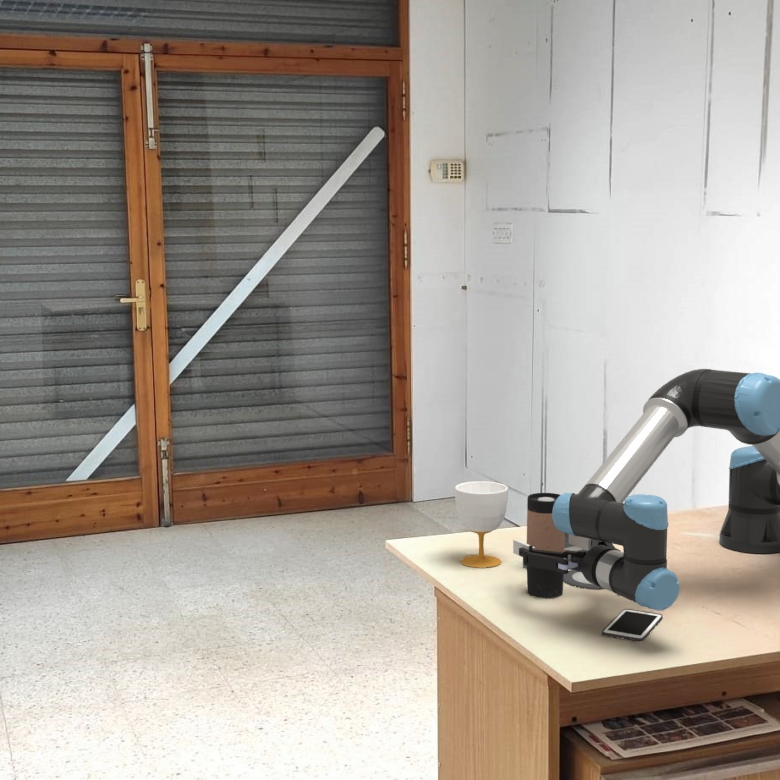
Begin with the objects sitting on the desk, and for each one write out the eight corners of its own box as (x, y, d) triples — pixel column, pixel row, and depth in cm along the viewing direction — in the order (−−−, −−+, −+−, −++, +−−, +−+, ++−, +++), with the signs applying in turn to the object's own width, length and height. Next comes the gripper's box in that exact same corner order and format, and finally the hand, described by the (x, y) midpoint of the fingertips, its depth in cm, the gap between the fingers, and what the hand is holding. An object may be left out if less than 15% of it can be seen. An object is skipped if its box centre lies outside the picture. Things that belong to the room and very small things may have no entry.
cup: (516, 566, 247) (517, 490, 244) (467, 572, 243) (467, 495, 240) (493, 552, 258) (494, 479, 255) (446, 557, 254) (446, 483, 251)
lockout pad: (633, 576, 239) (633, 573, 239) (610, 593, 228) (610, 590, 228) (576, 566, 246) (576, 564, 246) (551, 582, 235) (551, 580, 235)
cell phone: (600, 637, 205) (600, 632, 205) (624, 612, 218) (624, 607, 218) (642, 644, 202) (642, 639, 202) (664, 619, 214) (664, 614, 214)
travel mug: (519, 589, 231) (520, 494, 228) (551, 584, 234) (552, 491, 231) (538, 601, 224) (539, 503, 221) (571, 595, 227) (572, 499, 224)
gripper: (554, 599, 204) (490, 568, 222) (661, 578, 215) (591, 550, 234) (555, 559, 203) (490, 531, 221) (662, 540, 214) (592, 515, 233)
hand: (542, 541), depth 228 cm, fingers open, 13 cm apart
